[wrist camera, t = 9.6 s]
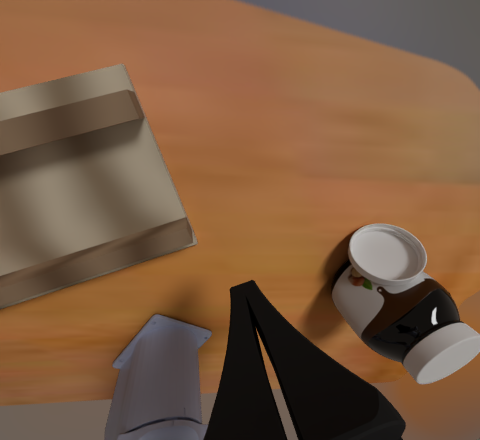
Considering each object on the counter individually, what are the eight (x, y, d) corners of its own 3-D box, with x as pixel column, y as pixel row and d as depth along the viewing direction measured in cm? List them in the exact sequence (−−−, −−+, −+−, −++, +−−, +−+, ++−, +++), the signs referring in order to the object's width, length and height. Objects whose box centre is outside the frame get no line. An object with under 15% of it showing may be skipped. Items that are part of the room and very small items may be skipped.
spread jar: (341, 306, 31) (416, 398, 21) (298, 275, 26) (370, 380, 16) (408, 251, 29) (527, 326, 19) (375, 205, 24) (517, 275, 13)
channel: (124, 65, 13) (98, 45, 9) (197, 240, 20) (200, 272, 16) (-288, 164, 11) (-551, 194, 7) (-48, 320, 18) (-113, 379, 14)
